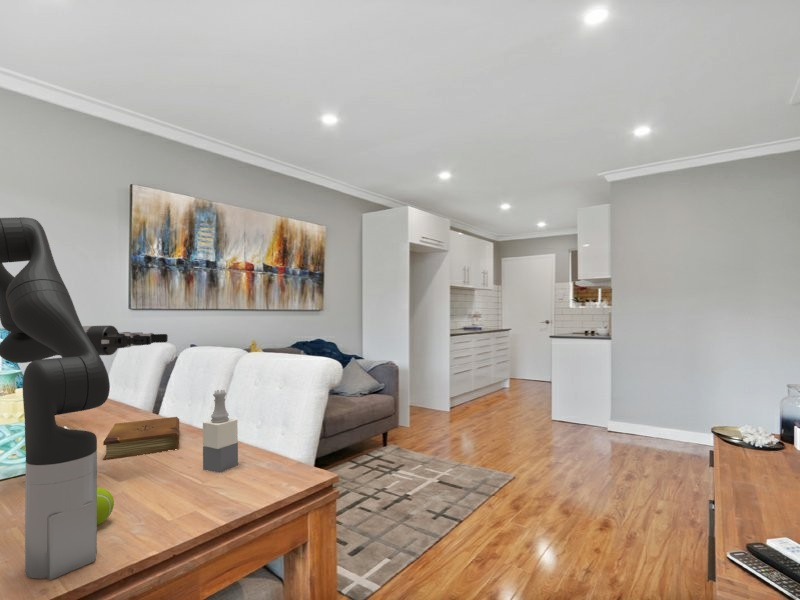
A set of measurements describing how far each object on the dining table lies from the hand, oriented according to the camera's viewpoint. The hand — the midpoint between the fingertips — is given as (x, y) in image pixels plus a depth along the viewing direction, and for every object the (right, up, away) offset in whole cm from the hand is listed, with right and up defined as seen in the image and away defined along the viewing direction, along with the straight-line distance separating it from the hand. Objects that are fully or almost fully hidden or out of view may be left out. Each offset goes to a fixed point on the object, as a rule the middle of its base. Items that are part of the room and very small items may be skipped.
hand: (159, 339), depth 110 cm
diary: (-18, -36, +24) cm, 47 cm away
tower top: (+14, -28, +3) cm, 32 cm away
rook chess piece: (+14, -22, +3) cm, 27 cm away
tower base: (+15, -34, +3) cm, 37 cm away
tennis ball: (+3, -33, -28) cm, 43 cm away
